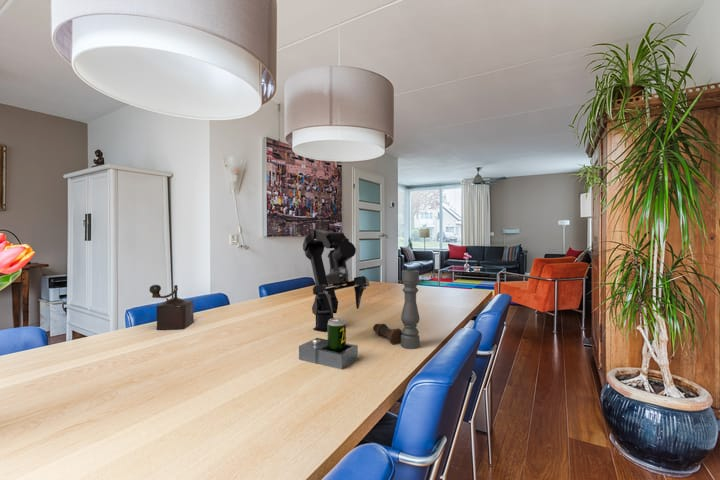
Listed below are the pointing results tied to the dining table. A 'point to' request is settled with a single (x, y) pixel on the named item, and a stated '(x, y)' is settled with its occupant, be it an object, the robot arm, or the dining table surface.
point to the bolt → (388, 333)
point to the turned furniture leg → (410, 310)
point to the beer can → (336, 335)
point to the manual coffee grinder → (172, 311)
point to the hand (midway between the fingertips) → (344, 311)
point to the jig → (327, 354)
